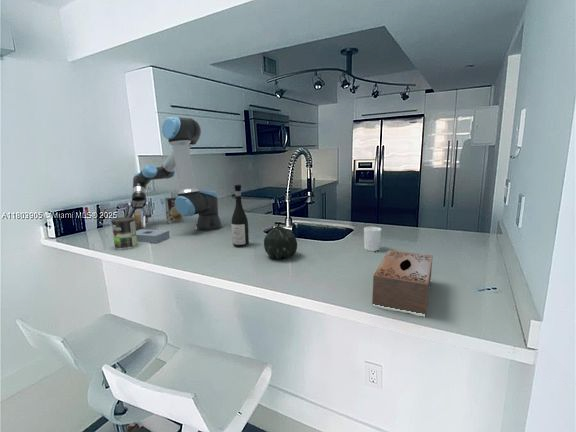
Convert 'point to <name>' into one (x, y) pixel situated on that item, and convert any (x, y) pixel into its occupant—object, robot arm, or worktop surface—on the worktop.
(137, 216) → the dowel
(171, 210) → the coffee box
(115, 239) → the coffee can
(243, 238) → the wine bottle
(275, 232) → the squash
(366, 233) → the white cup
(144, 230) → the socket board
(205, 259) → the worktop surface
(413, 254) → the tissue box cover
